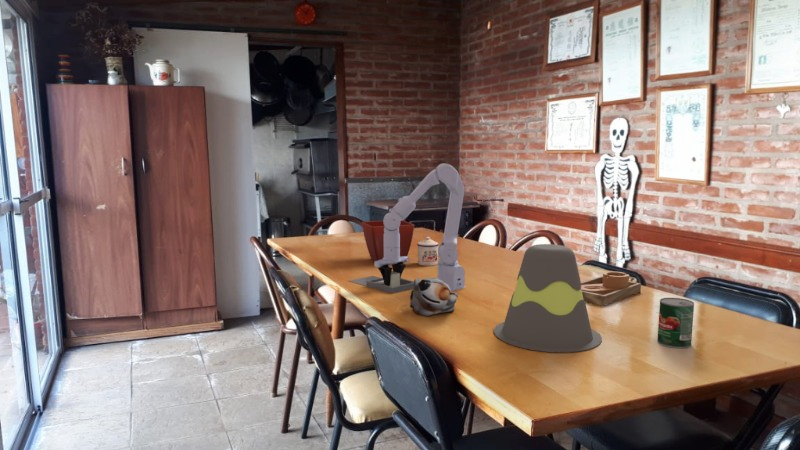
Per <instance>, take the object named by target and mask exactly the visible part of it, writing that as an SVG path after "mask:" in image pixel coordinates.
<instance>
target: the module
mask: <svg viewBox="0 0 800 450" xmlns="http://www.w3.org/2000/svg"><path fill="white" fill-rule="evenodd" d="M396 286H400V273H397V272H394V271H393V270H392V271H391V276H390V287H396Z"/></svg>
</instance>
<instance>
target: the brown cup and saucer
mask: <svg viewBox="0 0 800 450" xmlns="http://www.w3.org/2000/svg"><path fill="white" fill-rule="evenodd" d="M602 277H603V284H589V285H581V291H585V292H590V293H595V294H600V295H605V294H608V293H611V292H614V291H617V290H620V289H622V288H625V287H628V286H629V281H630V280H629V279H630V274H627V273H626V272H622V271H612V270H611V271H604V272H602Z"/></svg>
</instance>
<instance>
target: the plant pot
mask: <svg viewBox="0 0 800 450" xmlns="http://www.w3.org/2000/svg"><path fill="white" fill-rule="evenodd" d="M361 226H362V230H363V232H362V233H363V236H364V240H365V244H366V248H367V250H368V251H367V252H368V253H369V254H368V255H369V257H370V259H371V260H372V261H378V260H381V259H383V258H384V227H385V226H384V223H383V220H373V221H370V220H369V221H362V222H361ZM414 230H415V224H413V223H411V222H409V221H406V220H402V221H401V223H400V226H399V234H400V257H402V256H407V257H409V253H410V249H411V245H412V241H413V236H414V235H413V234H414Z"/></svg>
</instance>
